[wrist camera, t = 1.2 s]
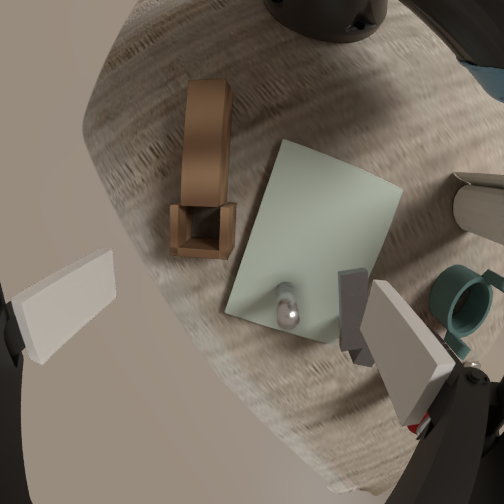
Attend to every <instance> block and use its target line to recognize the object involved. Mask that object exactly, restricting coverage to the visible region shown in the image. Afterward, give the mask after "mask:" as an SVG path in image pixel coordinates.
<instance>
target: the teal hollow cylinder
mask: <svg viewBox="0 0 504 504" xmlns="http://www.w3.org/2000/svg"><path fill="white" fill-rule="evenodd" d="M470 285H471V289H470V293H469V296H468V299H467V301H466V302H465V304H464V306H463V307H462V308H461V309H460V310H459V311H458V312H457V313H456V314H454V315H453V316H452V313H453V309H454V306H455V304H456V302H457V300H458V298H459V297H460V295H461V294H462V293H463V292H464V290H465V289H466V288H468V287H469V286H470ZM491 285H493V286H494V287H496V288H497V289H499V290H500V291H502V292H504V277H502V276H500V275H498V274H496V273H495V272H493V271H491V270H489V269H488V270H487V271H486V272H485V273H484V274H483V275H482V276H480V275H479V274H477V273H475V272H474V271H472V270H470V269H468V268H467V267H465V266H463V265H454V266H451V267H449V268H447V269H446V270H445V271H444V272H442V273H441V274H440V276H439V277H438V278H437V280H436V281H435V283H434V285H433V287H432V290H431V293H430V298H429V307H430V311H431V313H432V315H433V316H434V317H435V318H436V319H437V320H438V321H439V322H440V323H441V324H442V325H443V326H444V327H445V328H446V329H447V332H446V335H445V338H444V341H445V342H446V343H447V344H448V345H449V347H450V348H451V349H452V350H453V351H454V352H455V353H456V355H457V356H458V357H459V358H461V359H462V360H464V358H465V357H466V356H467V354H468V353H469V352H470V348H469V347H468V346H467V345H466V344H465V343H464V342H463V341H462V340H461V339H460V338H462V337H466V336H468V335H470V334H472V333H473V332H474V331H475V330H476V329H478V328H479V326H480V325H481V324H482V323H483V321H484V320H485V318H486V316H487V315H488V312H489V310H490V307H491V303H492V297H493V291H492V287H491Z"/></svg>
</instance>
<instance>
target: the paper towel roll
mask: <svg viewBox="0 0 504 504" xmlns="http://www.w3.org/2000/svg"><path fill="white" fill-rule="evenodd" d="M454 173H455V174H456V175H457V176H458V177H459V178H460V179H462V180H464V181H467V182H469V183H471V185H464V186H463V187H462V188H460V189H459V190H458V192H457V194H456V196H455V199H454V204H453V213H454V217H455V220H456V223H457V224H458V225H459V226H460V228H461V229H463V230H466V231H468V232H471V233H474V234H476V235H479V236H482V237H484V238H487V239H489V240H492V241H495V242H497V243H499V244H502V245H504V175H496V174H482V173H465V172H454Z"/></svg>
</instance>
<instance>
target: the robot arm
mask: <svg viewBox="0 0 504 504" xmlns="http://www.w3.org/2000/svg"><path fill="white" fill-rule="evenodd" d="M399 1H400V2H401V3H403V4H404V5H405V6H406V7H407V8H409V9H410V10H411V11H412V12H413V13H414V14H415V15H417V16H418V17H419V18H420V19H421V20H422V21H423V22H424V23H425V24H426V25H427V26H428V27H429V28H430V29H431V30H432V31H433V32H434V33H435V34H436V35H437V36H438V37H439V38H440V39H441V40H442V41H443V42H444V43H445V44H446V45H447V46H448V47H449V48H450V49H451V51H452V52H453V53H454V54H455V55H456V59H457V60H458V62H459V63H460V64H461V65H463V66H464V67H466V68H467V69H468V70H469V72H470V73H471V74H472V75H473V76H474V78H475V79H476V80H477V81H478V83H479V84H480V85H481V86H482V88H483V89H484V90H485V91H486V92H487V93H488V94H489V95H490V96H491V97H493V98H494V99H496V100H498V101H500V102H502V103H504V0H399ZM387 2H388V0H264V3H265V6H266V7H267V9H268V11H269V12H270V13H271V14H272V15H273V16H274V17H275V18H276V19H277V20H278V21H279V22H280V23H282V24H283V25H285V26H286V27H288V28H290V29H291V30H293V31H295V32H298V33H300V34H302V35H305V36H308V37H311V38H314V39H318V40H323V41H329V42H353V41H358V40H362V39H364V38H367V37H369V36H370V35H372V34H373V33H374V32H375V31H376V30H377V29H378V28H379V26H380V25H381V24H382V22H383V21H384V19H385V16H386V13H387ZM115 298H116V288H115V279H114V268H113V254H112V249H105V248H100V249H98V250H96V251H94V252H92V253H90V254H88V255H86V256H84V257H82V258H81V259H79V260H77V261H75V262H73V263H71V264H69V265H67V266H66V267H64V268H62V269H60V270H58V271H56V272H55V273H53V274H51V275H49V276H47V277H46V278H44V279H42V280H40V281H39V282H37V283H35V284H33V285H32V286H30V287H28V288H27V289H25V290H23V291H22V292H20V293H18V294H17V295H15V296H13V297H12V298H11V301H10V302H8V303H7V304H6V303H5V300H4V296H3V292H2V288H1V283H0V504H32V502H31V499H30V496H29V491H28V486H27V481H26V474H25V468H24V460H23V451H22V438H21V384H22V371H23V355H22V352H21V351H22V350H23V349H24V348H25V347H26V349H27V352H28V355H29V358H30V359H31V360H32V361H34V362H36V363H38V364H40V365H43V364H44V363H45V362H46V361H47V360H48V359H49V358H50V357H51V356H52V355H53V354H54V353H55V352H56V351H57V350H59V349H60V347H62V346H63V345H64V344H65V343H66V342H67V341H68V340H69V339H70V338H71V337H72V336H73V335H75V334H76V333H77V332H78V331H79V330H80V329H81V328H82V327H83V326H84V325H86V324H87V323H88V322H89V321H90V320H91V319H92V318H93V317H94V316H96V315H97V314H98V313H99V312H100V311H101V310H102V309H104V308H105V307H106V306H107V305H108V304H109V303H110V302H112V301H113V300H114V299H115ZM360 330H361V332H362V335H363V337H364V339H365V341H366V343H367V345H368V348H369V350H370V352H371V354H372V356H373V359H374V361H375V363H376V366H377V368H378V370H379V372H380V375H381V377H382V379H383V382H384V384H385V387H386V389H387V391H388V394H389V396H390V399H391V401H392V404H393V406H394V409H395V411H396V414H397V416H398V419H399V422H400V424H401V427H402V426H408V425H415V424H419V423H420V422H421V420H422V419H423V417H424V416H425V414H426V413H428V415H429V417H430V419H431V420H430V421H429V422H428V424H427V425H426V427H425V428H424V429H423V431H422V432H421V433H420V435H419V436H418V437H417V438H416V439H417V440H419V439H420V441H419V443H418V445H417V447H416V449H415V451H414V453H413V455H412V457H411V459H410V461H409V463H408V465H407V467H406V469H405V471H404V472H403V474H402V476H401V478H400V480H399V481H398V483H397V485H396V487H395V488H394V490H393V491H392V493H391V495H390V496H389V498H388V499H387V501H386V503H385V504H504V432H503V433H502V434H501V435H499V429H500V428H501V427H502V426H503V425H504V377H503V378H502V380H501V382H500V383H498V382H490V380H489V378H488V376H487V375H486V374H485V373H484V372H483V371H481V370H479V369H477V368H474V367H464V366H463V364H462V363H461V362H460V360H459V359H458V358H457V357H456V355H455V354H454V353H453V352H452V350H450V348H449V347H448V345H447V344H445V342H444V340H443V339H442V338H441V337H440V336H439V335H438V334H437V333H435V332H434V331H433V330H431V329H429V328H428V327H427V326H426V325H425V324H424V322H423V321H422V320H421V319H420V318H419V317H418V315H417V314H416V313H415V312H414V311H413V309H412V308H411V307H410V306H409V305H408V304H407V303H406V301H405V300H404V299H403V298H402V297H401V296H400V295H399V294H398V292H397V291H396V290H395V289H394V288H393V287H392V286H391V285H390V284H389V282H388V281H384V280H373V283H372V287H371V291H370V294H369V298H368V302H367V306H366V309H365V313H364V316H363V320H362V323H361V326H360Z"/></svg>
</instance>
